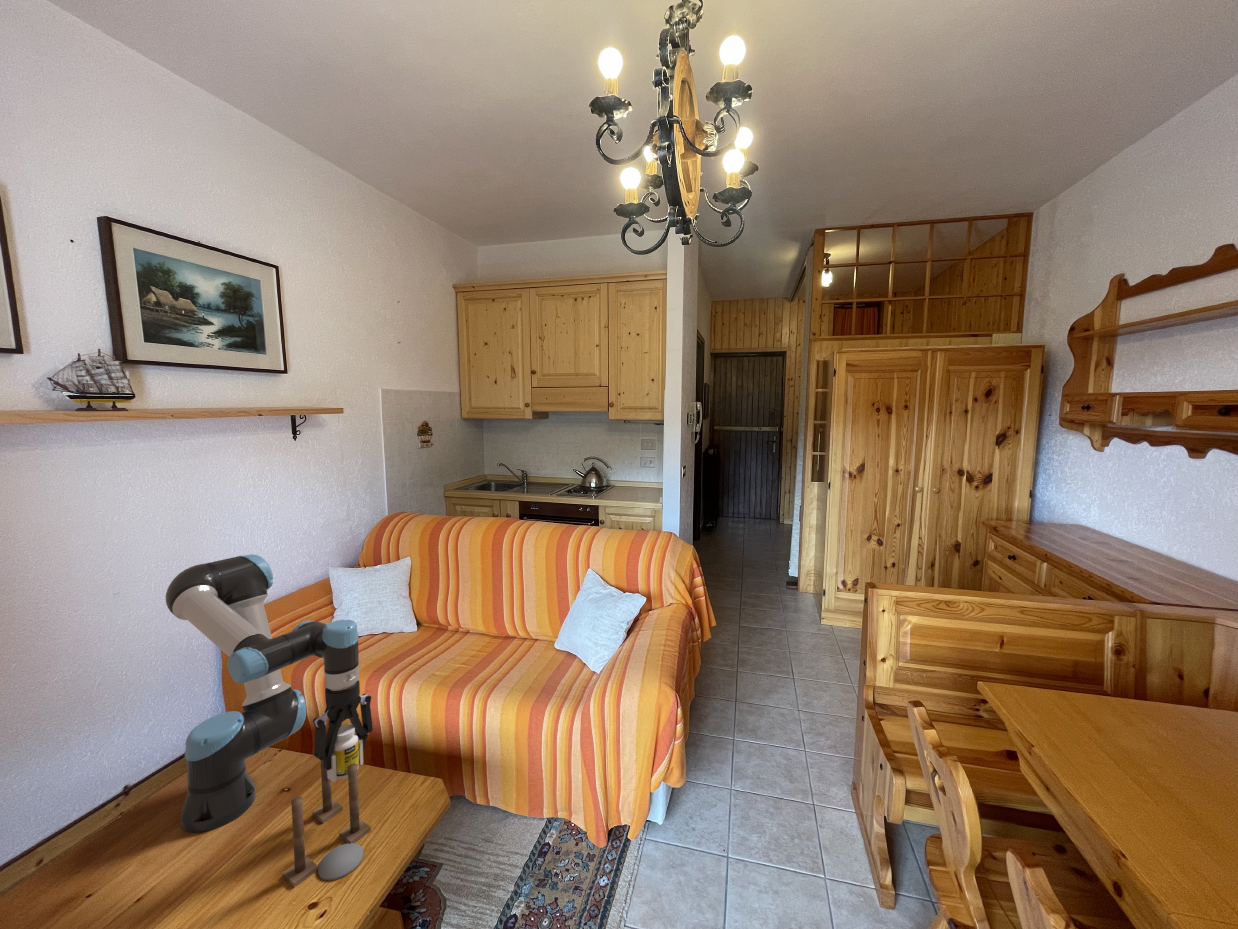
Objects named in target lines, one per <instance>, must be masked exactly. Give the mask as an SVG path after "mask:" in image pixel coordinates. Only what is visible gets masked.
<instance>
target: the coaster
mask: <svg viewBox="0 0 1238 929" xmlns="http://www.w3.org/2000/svg"><path fill="white" fill-rule="evenodd" d="M363 858H364V849H363V847H362V846H361V845H360V844H359V843H356V842H355V843H344V844H341V845H338V846H336V847H335V848H333V849H331V850H330V851H329V852H328V853H326V854H325V855H324V856H323V858H321V860H320V862H319V864H318V870H317V873H318V876H319V877H320V879H322V880H324V881H335V880H339V879H342V878H345V877H346V876H348V875H350V874H351V873H352V872H354V871H355V870H356V869H357V868H358V867H359V866H360V865H361V863H362V861H363Z"/></svg>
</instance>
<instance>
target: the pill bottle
mask: <svg viewBox="0 0 1238 929" xmlns="http://www.w3.org/2000/svg"><path fill="white" fill-rule="evenodd" d="M333 754H334V755H336V775H337V780H343V779H348V766H349V765H350V764H353V763H356V764H357V771H358V770H359V746H358V736H357V735H356V733H355V727H354V726H353V725H352V724H345V725H341V727H340V728H339V731H338V735H337V739H336V742H335V746H334V750H333Z"/></svg>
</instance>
